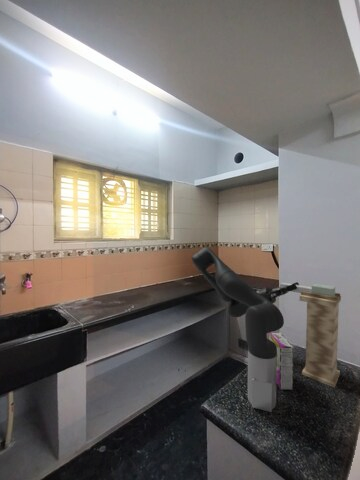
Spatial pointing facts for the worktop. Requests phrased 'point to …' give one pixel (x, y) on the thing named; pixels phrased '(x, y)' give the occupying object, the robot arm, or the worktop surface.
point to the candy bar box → (283, 361)
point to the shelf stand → (321, 337)
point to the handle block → (314, 289)
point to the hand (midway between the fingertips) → (297, 285)
